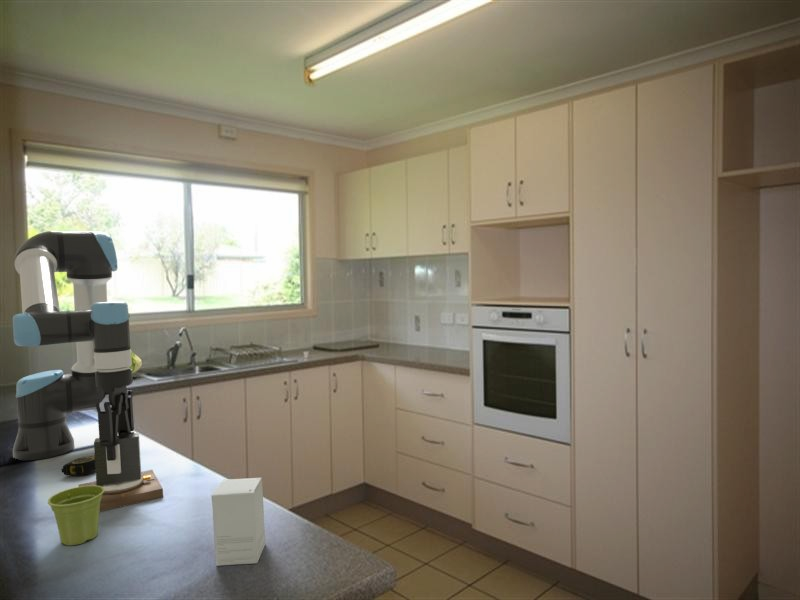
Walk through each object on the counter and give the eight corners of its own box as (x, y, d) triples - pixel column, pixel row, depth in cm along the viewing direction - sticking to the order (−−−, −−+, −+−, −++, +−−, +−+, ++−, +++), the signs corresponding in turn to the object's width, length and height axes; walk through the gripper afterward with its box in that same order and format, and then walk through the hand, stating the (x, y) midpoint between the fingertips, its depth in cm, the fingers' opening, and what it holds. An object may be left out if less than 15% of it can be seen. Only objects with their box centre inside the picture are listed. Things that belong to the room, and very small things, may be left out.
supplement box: (266, 543, 101) (263, 476, 101) (257, 564, 94) (254, 492, 93) (226, 545, 101) (223, 478, 100) (214, 566, 94) (210, 494, 93)
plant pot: (42, 554, 100) (39, 507, 99) (60, 531, 109) (57, 488, 108) (99, 546, 102) (96, 500, 102) (111, 524, 111) (109, 482, 111)
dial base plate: (78, 492, 128) (78, 483, 128) (152, 477, 137) (152, 468, 137) (82, 515, 116) (81, 505, 115) (163, 497, 124) (162, 487, 124)
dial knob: (97, 481, 129) (94, 435, 128) (151, 473, 133) (148, 428, 133) (92, 497, 120) (89, 446, 119) (150, 487, 124) (147, 439, 124)
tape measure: (81, 468, 146) (80, 454, 145) (104, 469, 144) (103, 455, 144) (61, 478, 139) (60, 463, 139) (85, 479, 138) (84, 464, 137)
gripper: (114, 363, 133) (120, 457, 135) (76, 377, 116) (83, 484, 117) (145, 362, 134) (151, 455, 135) (112, 375, 116) (119, 482, 117)
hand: (119, 468), depth 126 cm, fingers closed on dial knob, 5 cm apart
